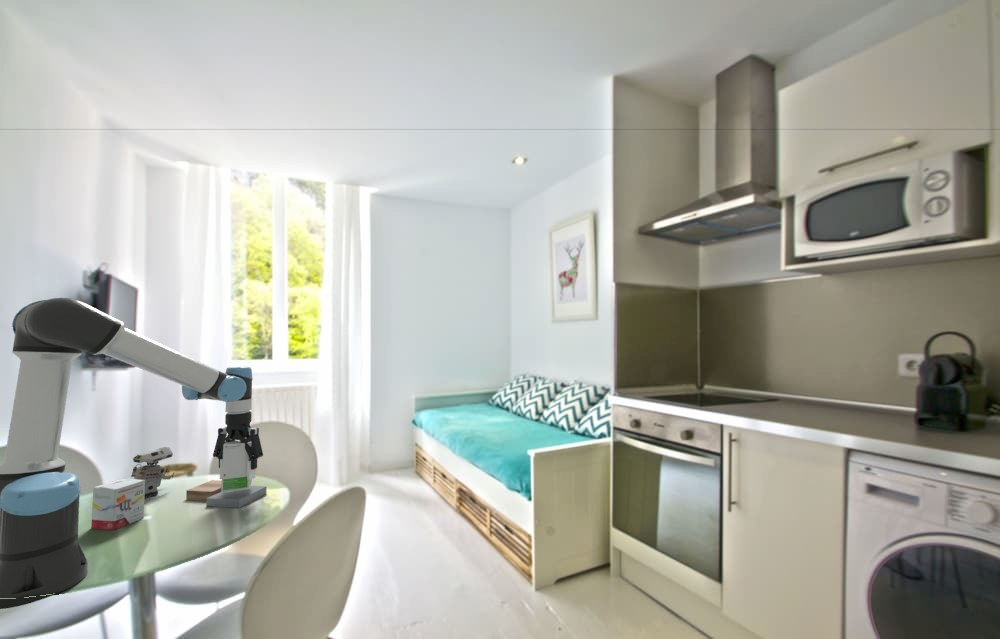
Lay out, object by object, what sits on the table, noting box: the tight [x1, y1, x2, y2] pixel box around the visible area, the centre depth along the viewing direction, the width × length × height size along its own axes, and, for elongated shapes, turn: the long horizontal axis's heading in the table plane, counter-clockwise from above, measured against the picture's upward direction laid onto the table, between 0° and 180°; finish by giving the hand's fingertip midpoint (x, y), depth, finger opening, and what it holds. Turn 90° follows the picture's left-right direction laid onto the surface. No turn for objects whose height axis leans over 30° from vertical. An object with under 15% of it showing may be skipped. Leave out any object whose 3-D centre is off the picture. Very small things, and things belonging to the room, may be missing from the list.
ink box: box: [91, 477, 146, 531], centre depth 120 cm, size 9×9×12 cm
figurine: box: [130, 446, 175, 499], centre depth 144 cm, size 9×12×15 cm
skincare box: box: [221, 440, 253, 492], centre depth 137 cm, size 8×7×16 cm
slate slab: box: [206, 485, 267, 509], centre depth 136 cm, size 12×12×2 cm
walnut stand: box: [185, 479, 222, 502], centre depth 141 cm, size 10×10×3 cm
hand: (237, 478), depth 136 cm, fingers closed on skincare box, 10 cm apart
